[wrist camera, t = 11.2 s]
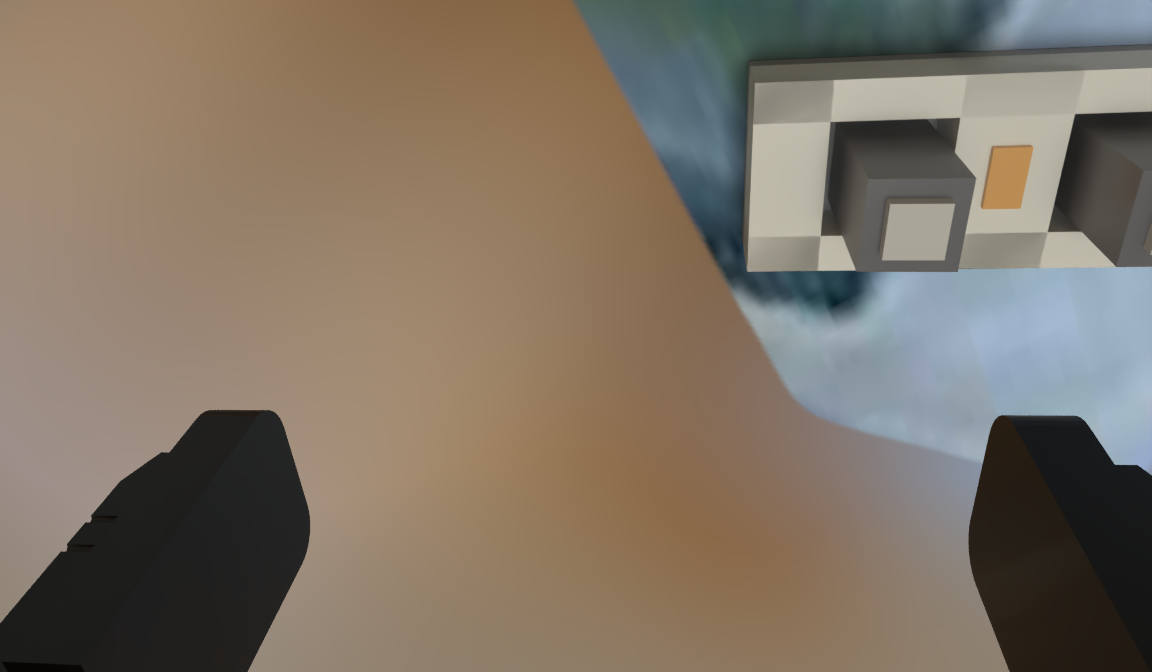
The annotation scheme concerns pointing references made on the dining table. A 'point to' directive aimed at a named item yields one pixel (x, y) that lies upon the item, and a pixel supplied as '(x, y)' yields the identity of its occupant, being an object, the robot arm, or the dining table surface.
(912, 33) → the dining table surface
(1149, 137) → the twin plug
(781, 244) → the strip
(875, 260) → the plug
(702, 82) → the dining table surface
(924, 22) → the dining table surface
